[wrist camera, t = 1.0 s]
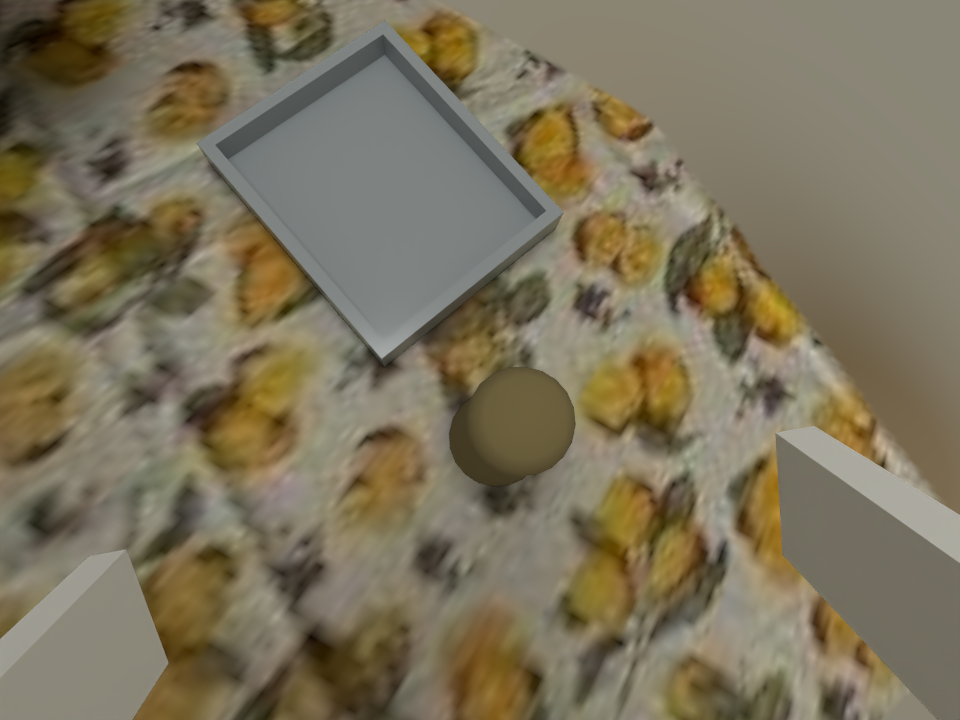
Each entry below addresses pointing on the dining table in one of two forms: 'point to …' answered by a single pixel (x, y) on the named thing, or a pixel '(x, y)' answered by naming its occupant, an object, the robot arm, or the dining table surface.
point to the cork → (512, 427)
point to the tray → (382, 189)
